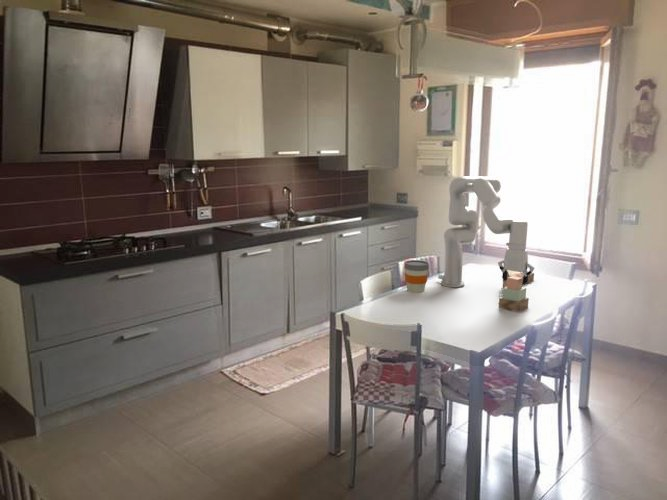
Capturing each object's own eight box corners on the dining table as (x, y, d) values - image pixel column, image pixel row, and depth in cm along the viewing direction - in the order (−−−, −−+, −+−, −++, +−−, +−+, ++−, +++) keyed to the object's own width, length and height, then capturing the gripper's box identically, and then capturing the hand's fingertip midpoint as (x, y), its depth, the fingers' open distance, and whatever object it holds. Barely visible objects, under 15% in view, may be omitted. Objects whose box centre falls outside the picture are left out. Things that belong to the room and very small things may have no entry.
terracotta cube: (506, 288, 257) (507, 277, 256) (511, 286, 261) (512, 275, 260) (516, 290, 254) (517, 279, 253) (521, 288, 257) (522, 277, 256)
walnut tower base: (498, 308, 259) (499, 298, 258) (507, 303, 266) (508, 293, 265) (518, 312, 252) (519, 302, 251) (527, 308, 260) (528, 298, 259)
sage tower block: (502, 298, 258) (502, 288, 257) (509, 294, 264) (510, 284, 263) (518, 301, 253) (519, 291, 252) (525, 298, 259) (526, 287, 258)
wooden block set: (535, 271, 309) (522, 277, 296) (534, 280, 310) (521, 287, 297) (506, 266, 320) (493, 271, 306) (505, 275, 321) (492, 281, 308)
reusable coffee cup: (418, 286, 295) (420, 259, 292) (432, 292, 284) (433, 264, 281) (399, 289, 290) (400, 261, 287) (412, 295, 279) (413, 266, 275)
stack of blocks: (502, 287, 294) (503, 265, 292) (514, 288, 293) (515, 266, 290) (507, 299, 273) (509, 275, 271) (520, 299, 272) (522, 275, 270)
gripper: (496, 245, 256) (493, 280, 260) (532, 250, 245) (529, 287, 248) (503, 242, 262) (500, 277, 265) (538, 247, 250) (535, 284, 254)
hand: (514, 282), depth 257 cm, fingers open, 9 cm apart
